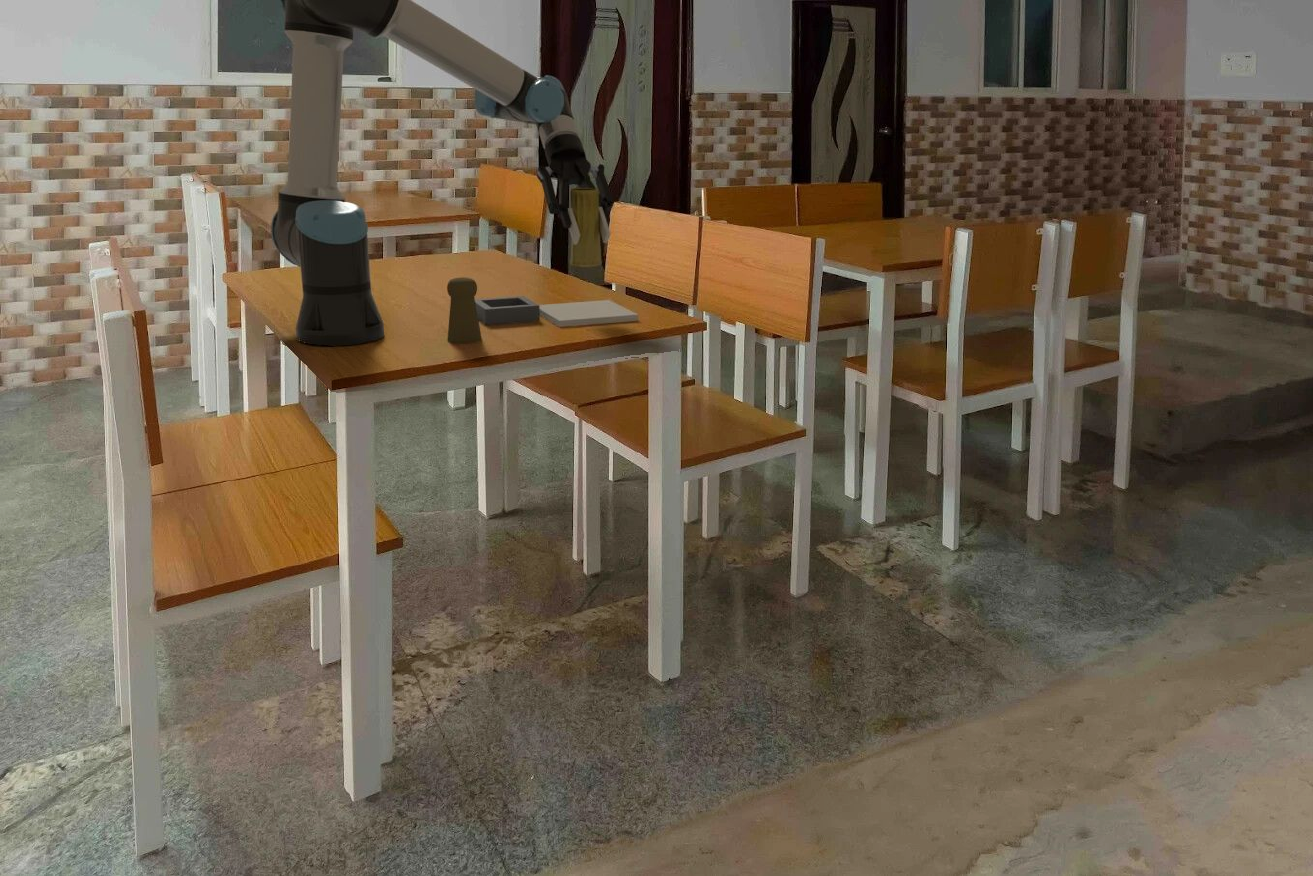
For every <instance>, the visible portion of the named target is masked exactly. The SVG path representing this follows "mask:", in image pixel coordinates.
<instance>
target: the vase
mask: <svg viewBox="0 0 1313 876" xmlns="http://www.w3.org/2000/svg"><path fill="white" fill-rule="evenodd" d="M599 194H600V193H599V190H598V188H596V187H595V188H579V187H576V188H571V189H570V208H572V210H573V213H574V216H575V219H576V223H577V226H578V229H579V232H580V238H579V241H578V244H575V245H574V244H573V241H572V238H571V237H570V260H569V261H570V265H571V266H575V267H597V266H600V265H602V263H603V262H602V261H603V260H602V248H601V247H602V246H601V233H600V227H599Z"/></svg>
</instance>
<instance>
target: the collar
mask: <svg viewBox="0 0 1313 876" xmlns="http://www.w3.org/2000/svg"><path fill="white" fill-rule="evenodd" d="M475 304H476V309H477V315H478V321H480V322H481V323H482V324H484V325H485V326H492V325H504V324H505V325H506V324H516V323H517V324H518V323H533V322H540V320H541V319H540V317H541V315H540V309H539V305H540V304H538V303H536V302H534V301H533V300H531V299H530V298H528V297H526V296H524V295H519V296H506V297H505V296H502V297H492V298H491V297H490V298H488V297H487V298H475Z"/></svg>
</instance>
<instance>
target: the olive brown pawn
mask: <svg viewBox="0 0 1313 876" xmlns="http://www.w3.org/2000/svg"><path fill="white" fill-rule="evenodd" d="M446 290H447V291H446V292H447V294H448V296H449V297H450V303H449V304H450V305H449V316H448V317H449V318H448V329H447V342H449V343H452V344H460V345H461V344H464V345H465V344H466V345H467V344H475V343H478V342H481V341H482V339H483V337H482V333H481V328H480V322H479V321H480V320H478V315H477V309H476V304H475V299H476V298H475V297H476V295H477V293H478V285H477V282H476V280H475V279H473V278H470V277H463V276H462V277H460V276H459V277H455V278H451V279H449V281H448V283H447V286H446Z"/></svg>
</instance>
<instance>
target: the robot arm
mask: <svg viewBox="0 0 1313 876" xmlns="http://www.w3.org/2000/svg"><path fill="white" fill-rule="evenodd" d="M280 4H281V7H282V10H283V11H284V34H285V35H286V36H287V37H288V39H289V40H290V41H291V43H292V65H291V67H292V68H291V88H290V89H291V93H290V114H289V115H290V116H289V117H290V118H289V119H290V120H289V122H290V123H289V143H288V146H289V147H288V167H287V168H288V169H287V170H288V173H287V174H288V175H287V182H286V183H285V185H283V186H282V187H280V189H279V190H278V196H277V197H278V200H277V201H278V202H277V210H276V212H275V213H274V215H273V216H272V219H271V223H270V236H271V240H272V243H273V245H274V246H275V247H274V248H276V250H277V251H278V253H279V254H280V255H281V256H282V257H283V258H285V260H286V261H288V263H289V262H290V264H293V265H295V266H297V267H300V275H301V283H302V284H301V285H302V287H301V288H302V299H301V303H300V308H299V312H298V316H297V320H296V325H295V333H296V340H297V339H298V340H300V341H302V342H305V343H310V344H318V345H317V346H321V345H328V346H327V347H335V346H339V347H340V346H349V345H350V346H351V345H361V344H365V343H370V342H373V341H377V340H379V339H382V338H383V337H385V328H384V327H385V324H384V321H383V318H382V316H381V313H380V311H379V309H378V306H377V303H376V301H375V299H374V297H373V294H372V287H371V285H372V284H371V270H370V269H371V268H370V255H369V254H370V253H369V242H368V230H369V228H368V227H369V226H368V222H367V220H366V214H365V211H364V209H363V208H361V206H359V205H358V204H356V203H352V202H347V201H346V197H345V195H343V193H342V192H341V190H339V188H338V173H339V172H338V171H339V170H338V169H339V152H340V151H339V149H340V132H341V131H340V130H341V113H342V112H341V111H342V89H343V74H344V73H343V72H344V71H343V70H344V67H343V66H344V52H345V51H346V49H347V48H348V47H350V46H351V45H352V44H353V43H354V29H356V30H359V31H360V32H361V31H362V32H364V33H365V34H367V35H369V36H371V37H372V38H374V39H378V38H382V37H384V38H386V39H388V40H389V41H391V42H393V43H394V44H396V45H398V46H400V47H402V48H404V49H406V50H407V51H408V52H410V53H412V54H414V55H415V56H417V57H418V58H421V59H422V60H424V61H426V62H428V63H429V64H431V65H433V66H435V67H436V68H438V69H440V70H441V71H443V72H445V73H447V74H448V75H450V76H452V77H454V78H456V79H457V80H459V81H460V82H461V83H464V84H466V86H469V87H470V88H473V89H474V101H473V102H474V106H475V109H476V112H477V113H478V114H480V115H481V116H485V117H489V118H491V119H499V120H506V121H513V122H519V123H523V124H524V123H525V124H528V125H529V124H530V125H535V126H536V129H537V131H538V135H539V137H540V141H541V144H542V148H543V149H544V152H545V153H544V155H545V158H546V160H547V163H548V166H544V165H540V166H538V171H537V172H536V173H537V174H536V177H537V179H538V180H539V183H541V186H542V189H543V192H544V194H543V195H544V197H545V202H546V205H547V209H548V213H549V214H551V215H554V214H557V218H558V219H560V220H561V222H562V225H563V228H564V229H568V231H569V233H570V239H571V238H572V241H573V244H574V245H575V244H578V241H579V238H580V232H579V229H578V226H577V223H576V219H575V216H574V213H573V210H572V208H571V207H568V206H569V204H568V203H569V186H571V185H575V186H577V187H578V188H596V187H597V188H596V189H598V190H599V227H600V237H601V239H602V243H603V244H605V243H608V242H609V240H610V237H611V231H610V228H609V225H610V222H611V218H610V215H609V212H612V210H613V207H614V205H615V200H614V197H613V194H612V191H611V189H610V186H609V183H608V180H607V177H606V175H605V165H604V164H601V163H599V164H598V166H595V165H593V164H592V163H591V162H590V161H589V160H588V159H587V156H586V152H585V148H584V146H583V142H582V140H581V136H580V133H579V130H578V127H577V124H576V121H575V118H574V116H573V115H574V114H573V112H572V109H571V105H570V102H569V97H568V94H567V91H565V88H564V85H563V84H562V82H561V81H560V80H559V79H558V78H557V77H554V76H552V75H544V76H538V77H537V76H535V75H533V74H532V73H530V72H528V71H526V70H525V69H523V68H521V67H520V66H518V65H517V64H516V63H514V62H512V61H510V60H509V59H507V58H505V57H503V56H502V55H501V54H499V53H497V52H496V51H495V50H492V49H491V48H489V47H488V46H486V45H485V44H482V43H481V42H479V41H478V40H476V39H475V38H473V37H471V36H470V35H469V34H467V33H465V32H463V31H462V30H460V29H459V28H457V27H456V26H454V25H453V24H451V23H449V22H447V21H445V20H444V19H442V18H441V17H439V16H437V15H436V14H434V13H433V12H431V11H429V10H427V9H426V8H425V7H423V6H421V5H420V4H418V3H416V2H415V1H413V0H280ZM589 173H591V175H592V178H593V179H595V180H594V181H595V184H596V187H595V184H594V183H593V181H592V179H591V177H590V174H589ZM552 176H553V177H554V178H555V179H557V181H558V183H559V184H558V190H559V193H558V195H559V198H558V199H557V196H556V192H555V188H554V184H553V180H552ZM298 340H297V341H298ZM302 342H301V343H302ZM305 343H304V344H305ZM310 344H309V345H310ZM329 345H330V346H329Z"/></svg>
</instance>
